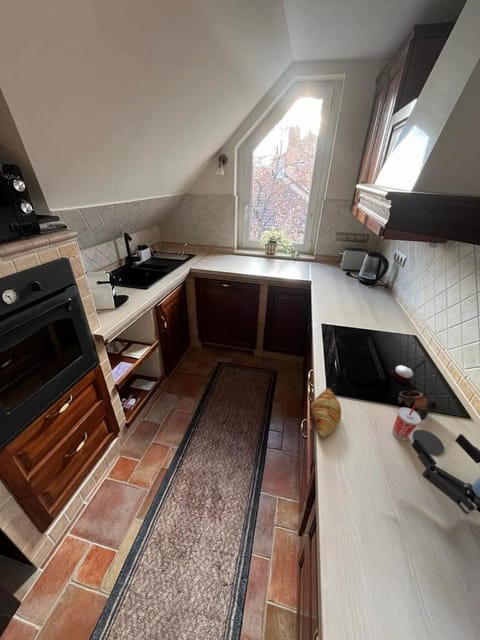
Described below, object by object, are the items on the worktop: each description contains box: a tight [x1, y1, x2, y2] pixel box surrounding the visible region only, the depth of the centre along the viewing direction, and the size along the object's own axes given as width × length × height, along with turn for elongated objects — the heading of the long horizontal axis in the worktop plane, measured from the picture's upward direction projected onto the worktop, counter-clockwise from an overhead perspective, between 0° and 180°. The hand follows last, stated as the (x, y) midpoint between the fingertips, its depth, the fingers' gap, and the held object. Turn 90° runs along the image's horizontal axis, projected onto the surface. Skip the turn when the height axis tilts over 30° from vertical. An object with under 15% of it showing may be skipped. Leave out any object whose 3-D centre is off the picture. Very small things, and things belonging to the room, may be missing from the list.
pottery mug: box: [397, 390, 439, 421], centre depth 91 cm, size 12×10×8 cm
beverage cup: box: [391, 403, 422, 441], centre depth 80 cm, size 6×6×14 cm
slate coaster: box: [412, 429, 445, 456], centre depth 81 cm, size 9×9×1 cm
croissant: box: [310, 387, 342, 439], centre depth 88 cm, size 21×10×8 cm, turn 160°
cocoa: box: [390, 357, 428, 383], centre depth 102 cm, size 10×6×12 cm, turn 54°
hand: (436, 439), depth 70 cm, fingers open, 13 cm apart
